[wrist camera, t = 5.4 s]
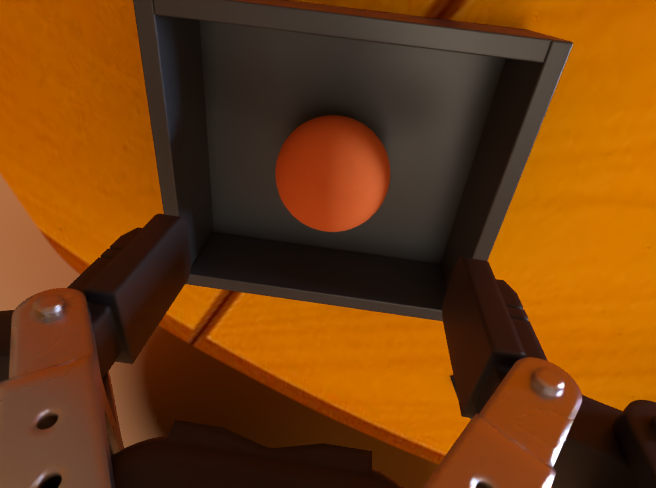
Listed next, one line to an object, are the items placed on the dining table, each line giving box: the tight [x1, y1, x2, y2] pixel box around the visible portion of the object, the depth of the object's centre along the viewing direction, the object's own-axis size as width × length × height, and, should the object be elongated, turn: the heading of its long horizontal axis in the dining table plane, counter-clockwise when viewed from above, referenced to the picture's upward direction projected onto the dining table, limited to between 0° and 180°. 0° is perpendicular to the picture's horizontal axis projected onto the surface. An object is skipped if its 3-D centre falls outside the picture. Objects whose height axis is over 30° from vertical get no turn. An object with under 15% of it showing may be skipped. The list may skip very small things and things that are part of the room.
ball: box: [275, 115, 390, 232], centre depth 17 cm, size 5×5×5 cm
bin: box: [133, 0, 573, 321], centre depth 18 cm, size 14×12×5 cm
